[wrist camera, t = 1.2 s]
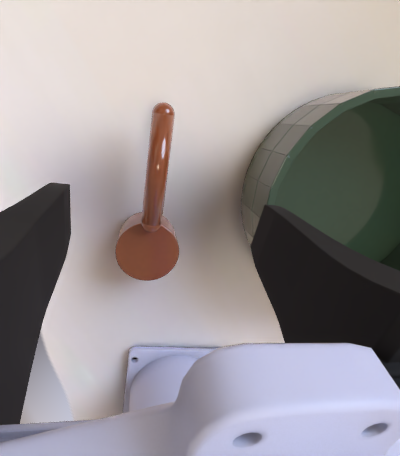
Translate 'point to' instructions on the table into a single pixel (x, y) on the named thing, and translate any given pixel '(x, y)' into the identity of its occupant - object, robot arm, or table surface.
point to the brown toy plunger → (151, 211)
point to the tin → (335, 171)
